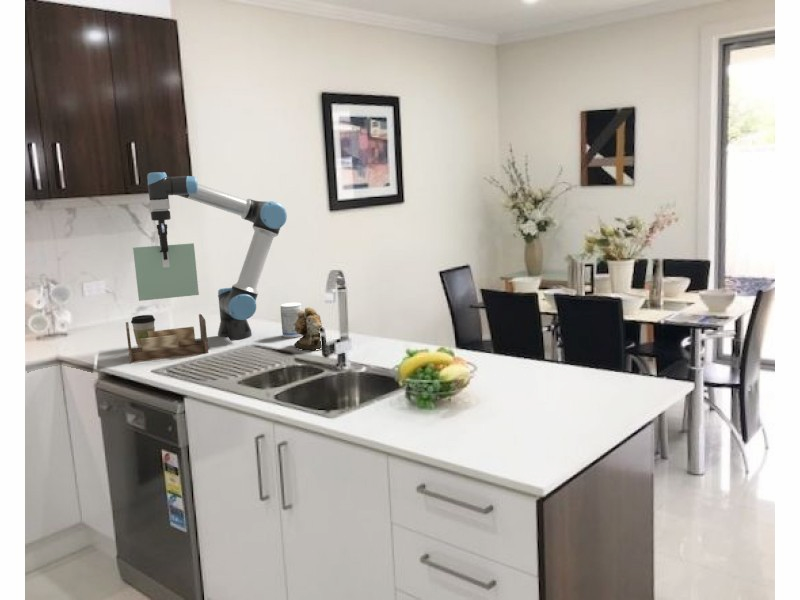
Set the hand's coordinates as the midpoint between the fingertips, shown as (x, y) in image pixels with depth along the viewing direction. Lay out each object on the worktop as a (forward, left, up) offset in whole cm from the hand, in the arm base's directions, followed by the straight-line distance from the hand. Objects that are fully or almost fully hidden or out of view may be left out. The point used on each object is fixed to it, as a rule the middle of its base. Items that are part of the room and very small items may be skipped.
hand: (166, 267), depth 287 cm
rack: (+3, +10, -36) cm, 38 cm away
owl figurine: (-53, +23, -37) cm, 68 cm away
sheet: (0, 0, -13) cm, 13 cm away
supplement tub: (-52, -2, -37) cm, 64 cm away
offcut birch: (+6, +12, -35) cm, 37 cm away
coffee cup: (+11, -9, -37) cm, 39 cm away
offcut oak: (+1, +9, -35) cm, 36 cm away
